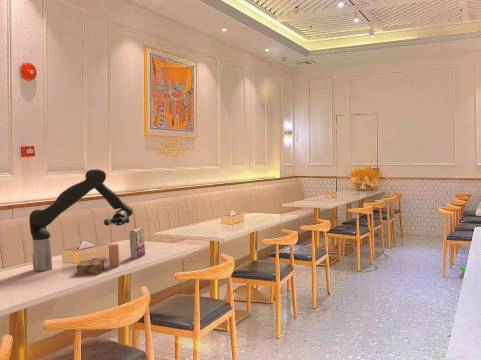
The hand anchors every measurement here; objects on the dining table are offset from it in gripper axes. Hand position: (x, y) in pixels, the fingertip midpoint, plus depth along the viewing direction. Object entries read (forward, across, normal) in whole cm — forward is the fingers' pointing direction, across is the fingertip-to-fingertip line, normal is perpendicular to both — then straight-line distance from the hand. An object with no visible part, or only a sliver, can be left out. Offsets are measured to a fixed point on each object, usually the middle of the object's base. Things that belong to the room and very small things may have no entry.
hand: (114, 223), depth 287 cm
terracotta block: (+11, 0, +22) cm, 24 cm away
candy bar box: (-13, +9, +24) cm, 29 cm away
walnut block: (+22, -10, +21) cm, 32 cm away
